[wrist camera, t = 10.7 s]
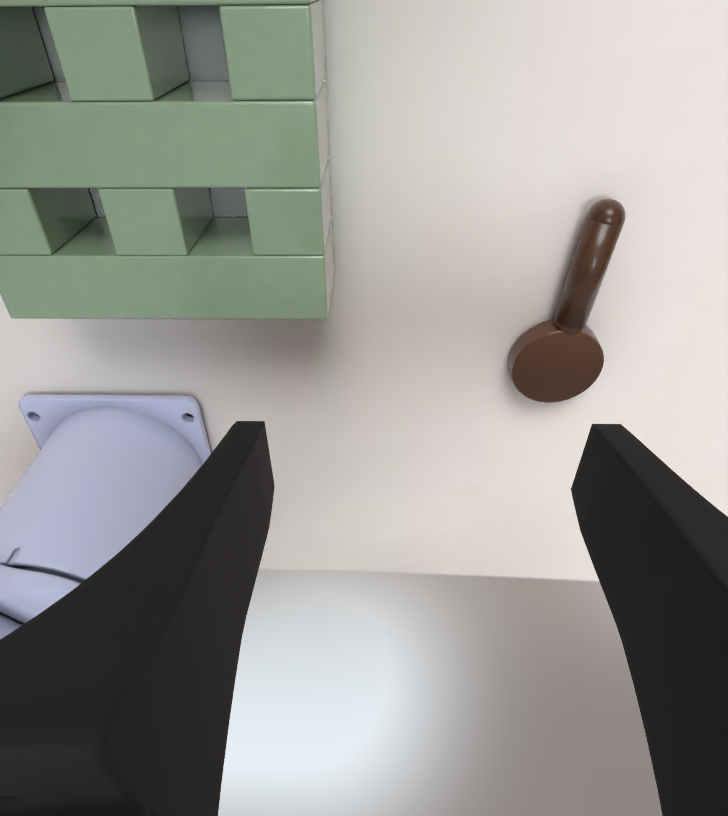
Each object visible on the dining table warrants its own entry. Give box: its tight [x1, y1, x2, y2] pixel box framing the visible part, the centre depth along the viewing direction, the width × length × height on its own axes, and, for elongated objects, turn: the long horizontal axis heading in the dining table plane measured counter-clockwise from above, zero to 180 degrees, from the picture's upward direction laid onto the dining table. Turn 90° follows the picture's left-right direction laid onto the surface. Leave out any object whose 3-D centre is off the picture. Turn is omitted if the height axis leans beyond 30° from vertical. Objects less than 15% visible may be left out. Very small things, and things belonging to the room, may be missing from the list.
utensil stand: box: [0, 0, 334, 320], centre depth 15 cm, size 15×11×4 cm
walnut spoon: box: [509, 199, 625, 402], centre depth 21 cm, size 1×4×8 cm
